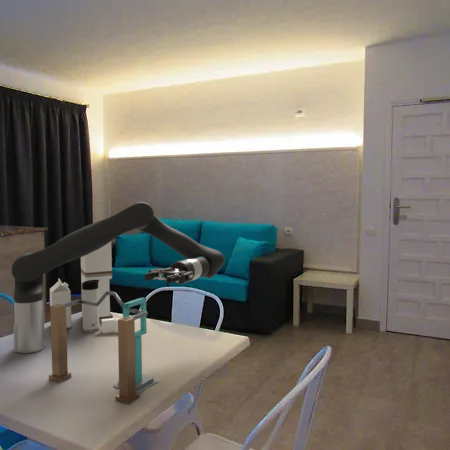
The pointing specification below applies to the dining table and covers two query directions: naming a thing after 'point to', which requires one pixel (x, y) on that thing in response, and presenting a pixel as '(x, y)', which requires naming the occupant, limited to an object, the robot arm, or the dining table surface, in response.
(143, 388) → the slate pad
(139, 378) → the turquoise post on base
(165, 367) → the dining table surface
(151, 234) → the robot arm
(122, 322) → the bent wire rig
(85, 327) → the travel mug
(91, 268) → the tall white tower
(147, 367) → the dining table surface
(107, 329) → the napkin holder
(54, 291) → the milk carton
